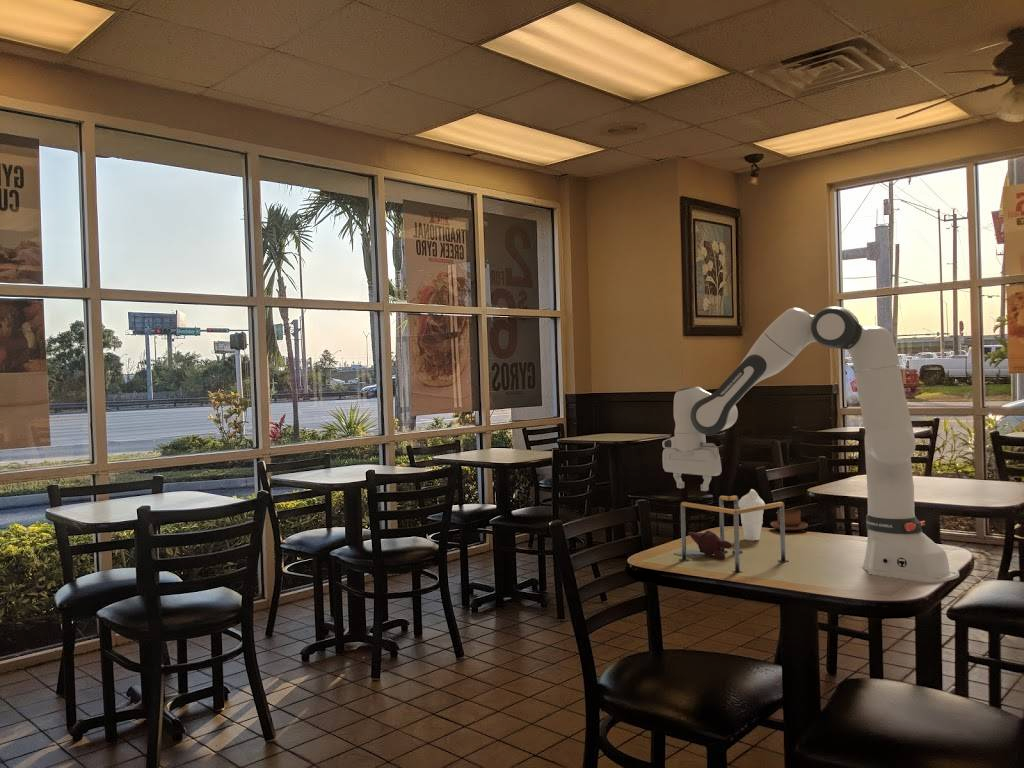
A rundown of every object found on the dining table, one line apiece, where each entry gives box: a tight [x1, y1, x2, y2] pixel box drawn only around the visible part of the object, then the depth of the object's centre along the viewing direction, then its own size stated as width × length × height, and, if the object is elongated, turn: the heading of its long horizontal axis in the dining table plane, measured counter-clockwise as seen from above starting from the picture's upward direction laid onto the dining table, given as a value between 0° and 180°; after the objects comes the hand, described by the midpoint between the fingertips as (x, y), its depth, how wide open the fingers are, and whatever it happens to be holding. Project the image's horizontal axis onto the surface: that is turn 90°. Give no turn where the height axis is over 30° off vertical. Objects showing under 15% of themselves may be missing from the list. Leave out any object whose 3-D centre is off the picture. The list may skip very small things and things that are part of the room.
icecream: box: [687, 530, 733, 561], centre depth 232 cm, size 7×7×15 cm
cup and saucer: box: [769, 508, 809, 532], centre depth 268 cm, size 12×12×6 cm
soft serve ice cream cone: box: [738, 488, 766, 542], centre depth 253 cm, size 8×8×16 cm
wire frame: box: [678, 495, 789, 574], centre depth 223 cm, size 21×21×17 cm
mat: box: [673, 549, 714, 559], centre depth 234 cm, size 8×8×1 cm
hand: (692, 489), depth 233 cm, fingers open, 8 cm apart
